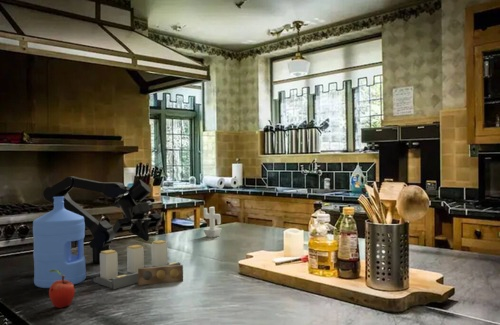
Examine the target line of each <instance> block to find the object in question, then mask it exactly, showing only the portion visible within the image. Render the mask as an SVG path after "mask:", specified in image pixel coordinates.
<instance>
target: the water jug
mask: <svg viewBox="0 0 500 325" xmlns="http://www.w3.org/2000/svg"><path fill="white" fill-rule="evenodd" d="M53 198H54V202H53V203H54V204H53V209H52V210H50V211H49V212H46V213H45V214H42V215H41V216H39V217H37V218H35V219H34V220H33V221H32V235H33V266H34V268H33V269H34V270H33V271H34V277H33V283H34V286H35V287H37V288H41V289H42V288H43V289H50V287H51V285H52V284H53V283H54V282H56V281H59V280H62V276H63V275H65V277H64V280H67V281H69V282H71V283H72V284H73V285H74V286H75V285H77V284H80V283H82V282H83V281H85V279H87V270H86V257H85V256H84V255H85V250H84V249H85V248H84V246H85V245H84V239H85V232H86V230H85V229H86V226H85V222H84V217H83V216H81V215H78V214H76V213H73V212H71V211H68V210H66V209H65V208H64V201H63V198H64V197H63V196H61V197H53ZM75 241H77V254H73V253H72V242H75ZM50 270H56V271H60V273H61V275H60V274H59V273H58V272H56V271H54V272H49V271H50Z"/></svg>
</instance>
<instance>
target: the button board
mask: <svg viewBox="0 0 500 325" xmlns="http://www.w3.org/2000/svg"><path fill="white" fill-rule="evenodd" d="M173 265H181V262H178V261H177V262H176V261H174V262H168V265H165V266H173ZM147 267H156V266H152V263H151V264H149V265H148V264H146V265H144V268H147ZM93 283H95V284H98V285H102V286H104V287H107V288H110V289H113V290H116V289H119V288H123V287H128V286H131V285H134V284H138V272H137V273H131V272H128V271H127V269H126V270H122V271H119V270H118V276H117V277H116V278H112V279H109V280H108V279H105V278H102V277H100V276H96V277H93Z"/></svg>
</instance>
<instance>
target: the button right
mask: <svg viewBox="0 0 500 325" xmlns="http://www.w3.org/2000/svg"><path fill="white" fill-rule="evenodd" d="M150 247H151V264H152V266H156V267H160V266H165V265H168V263H169V262H168V258H169V257H168V242H167V241H166V240H162V239H160V240H154V241H152V243H151V245H150Z"/></svg>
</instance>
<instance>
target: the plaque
mask: <svg viewBox="0 0 500 325" xmlns="http://www.w3.org/2000/svg"><path fill="white" fill-rule="evenodd" d="M175 282H176V283H177V282H184V264H180V265H173V266H160V267H147V268H138V283H137V284H138V286H143V285H152V284H153V285H154V284H165V283H175Z"/></svg>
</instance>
